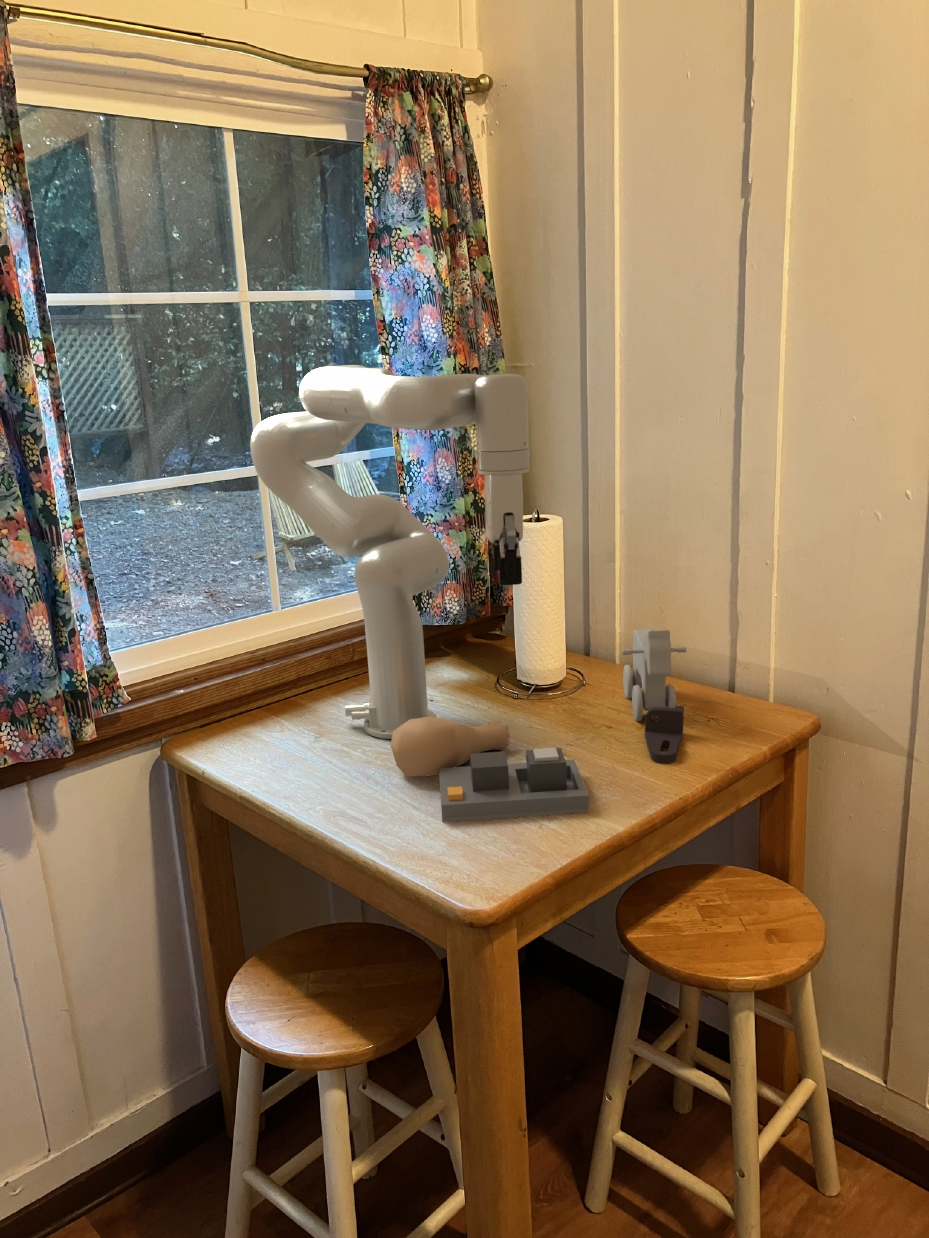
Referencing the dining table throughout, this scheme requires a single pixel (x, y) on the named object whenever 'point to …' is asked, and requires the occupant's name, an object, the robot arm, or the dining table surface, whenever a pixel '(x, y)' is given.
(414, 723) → the squash
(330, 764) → the dining table surface
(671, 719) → the bracket
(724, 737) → the dining table surface
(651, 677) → the pony
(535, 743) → the dining table surface
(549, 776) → the plug
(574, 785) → the grey fixture base
